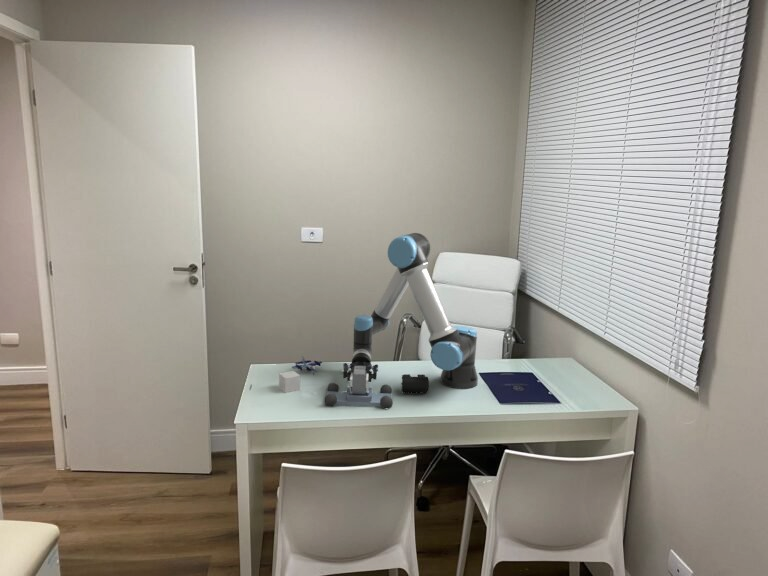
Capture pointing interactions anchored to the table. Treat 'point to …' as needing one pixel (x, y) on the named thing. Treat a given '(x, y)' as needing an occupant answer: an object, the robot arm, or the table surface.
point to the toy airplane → (307, 365)
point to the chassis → (358, 397)
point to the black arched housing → (415, 384)
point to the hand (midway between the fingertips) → (359, 383)
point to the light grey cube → (289, 381)
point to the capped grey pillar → (359, 381)
